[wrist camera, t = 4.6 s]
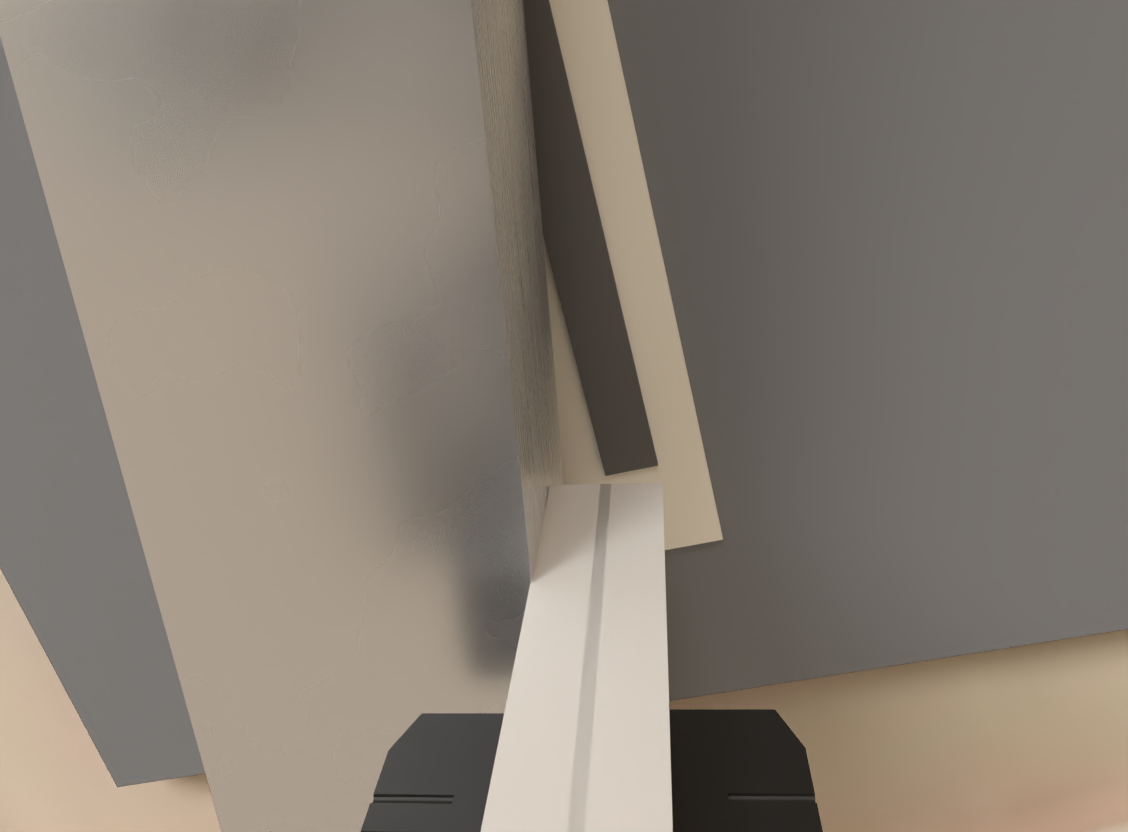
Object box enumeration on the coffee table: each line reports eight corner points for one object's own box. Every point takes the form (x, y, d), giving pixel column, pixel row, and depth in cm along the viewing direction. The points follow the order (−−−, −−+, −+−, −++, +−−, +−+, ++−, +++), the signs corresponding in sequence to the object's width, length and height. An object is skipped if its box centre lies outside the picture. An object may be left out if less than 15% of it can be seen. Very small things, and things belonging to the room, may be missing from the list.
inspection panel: (-521, -543, 12) (-653, -604, 11) (1277, -1322, 9) (1378, -1532, 8) (142, 749, 19) (109, 800, 18) (1250, 569, 16) (1299, 616, 15)
